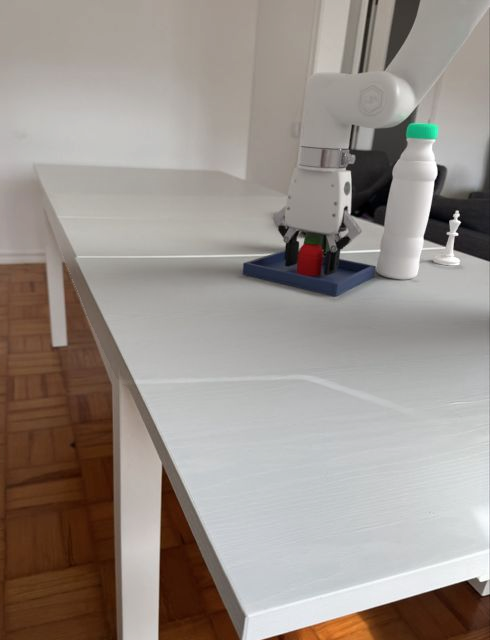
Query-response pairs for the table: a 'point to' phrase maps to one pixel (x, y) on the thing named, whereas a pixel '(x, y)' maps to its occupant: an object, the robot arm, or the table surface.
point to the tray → (332, 284)
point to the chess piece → (450, 245)
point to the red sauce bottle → (310, 258)
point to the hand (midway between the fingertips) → (310, 268)
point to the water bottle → (409, 204)
